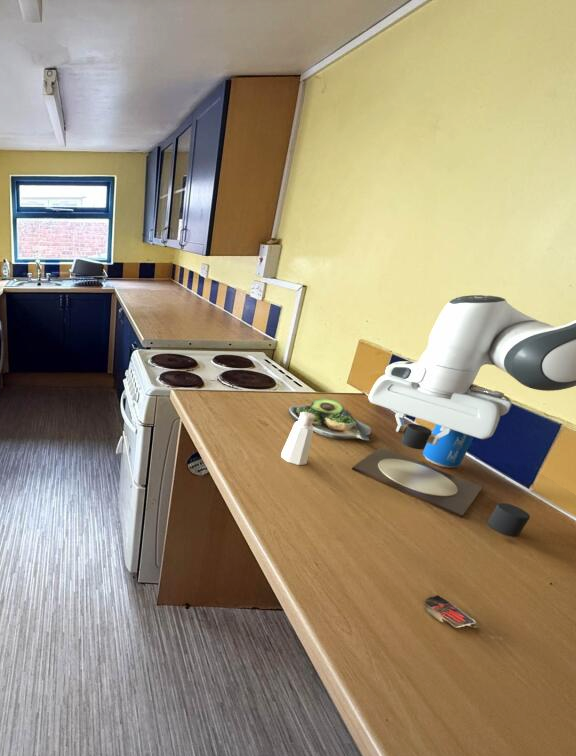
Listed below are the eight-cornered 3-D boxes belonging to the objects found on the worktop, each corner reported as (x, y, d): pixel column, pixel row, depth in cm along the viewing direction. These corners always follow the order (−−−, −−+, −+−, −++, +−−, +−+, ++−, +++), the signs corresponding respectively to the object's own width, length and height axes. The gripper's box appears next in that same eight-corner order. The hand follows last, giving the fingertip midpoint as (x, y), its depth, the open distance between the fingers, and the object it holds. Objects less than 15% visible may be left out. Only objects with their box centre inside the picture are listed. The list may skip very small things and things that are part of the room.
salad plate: (394, 445, 98) (402, 429, 96) (329, 447, 95) (335, 430, 93) (335, 410, 115) (340, 395, 113) (278, 410, 113) (282, 395, 111)
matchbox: (433, 593, 57) (434, 591, 57) (480, 624, 53) (482, 621, 53) (417, 606, 55) (418, 603, 55) (465, 639, 51) (467, 636, 51)
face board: (481, 489, 82) (483, 486, 82) (461, 518, 73) (463, 514, 73) (379, 449, 95) (380, 446, 95) (351, 469, 87) (352, 466, 86)
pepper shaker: (275, 456, 90) (289, 412, 85) (287, 449, 93) (300, 406, 89) (300, 468, 86) (315, 422, 82) (311, 460, 89) (327, 416, 85)
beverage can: (430, 466, 90) (452, 418, 85) (415, 451, 95) (436, 406, 91) (464, 472, 88) (490, 423, 83) (448, 457, 94) (471, 411, 89)
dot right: (520, 530, 71) (532, 512, 69) (516, 539, 69) (528, 521, 67) (489, 517, 74) (500, 499, 72) (485, 525, 72) (495, 507, 70)
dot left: (426, 446, 86) (434, 429, 84) (421, 451, 83) (428, 434, 82) (404, 438, 89) (411, 422, 87) (398, 442, 86) (405, 426, 85)
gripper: (519, 392, 74) (484, 456, 80) (388, 359, 89) (367, 415, 95) (513, 399, 71) (477, 465, 76) (378, 364, 86) (356, 421, 91)
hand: (415, 437), depth 85 cm, fingers closed on dot left, 4 cm apart
